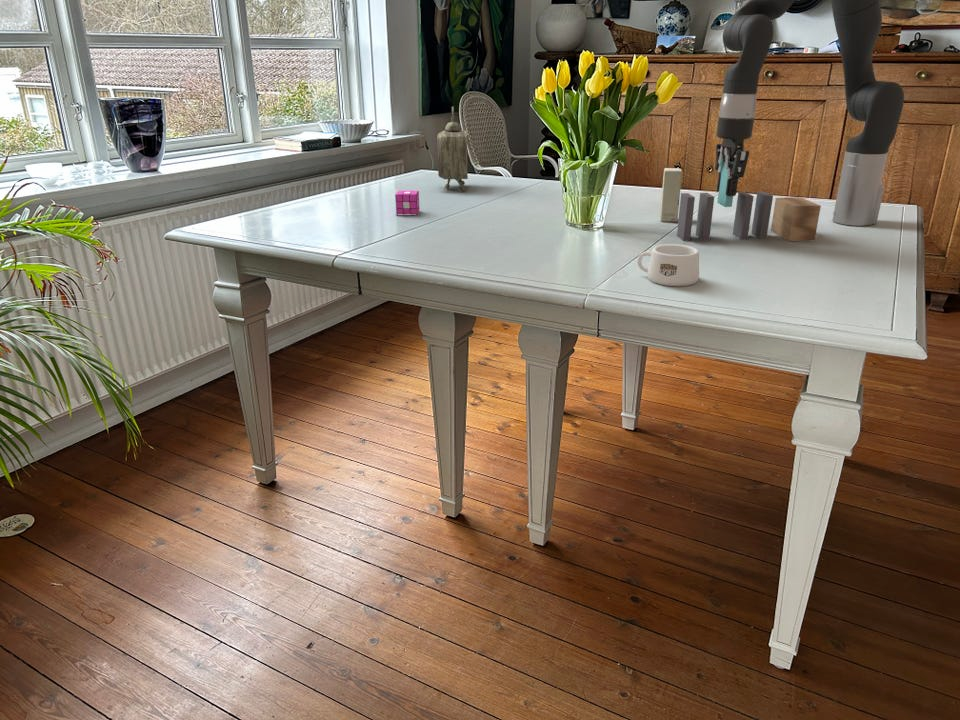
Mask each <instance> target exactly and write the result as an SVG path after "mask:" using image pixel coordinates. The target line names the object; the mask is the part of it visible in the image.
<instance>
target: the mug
mask: <svg viewBox="0 0 960 720" xmlns="http://www.w3.org/2000/svg"><path fill="white" fill-rule="evenodd" d="M646 256H649V258H650V259H649V264H648V266H647V267H648V268H646V266H644V265H643V263H642V260H643V259H644V257H646ZM637 266H638V267H639V269H640V270H641V271H643V272H645V273H647V275H646V277H647V278H648V279H649V280H650V281H651V282H652V283H654V284H658V285H661V286H667V287H668V286H669V287H687V286H693V285H694V284H696V283H697V282H698V281H699V279H700V278H699V277H700V251H699V250H698V249H697V248H695V247H694V246H690V245H686V244H685V245H684V244H677V243H676V244H674V243H673V244H671V243H670V244H669V243H668V244H659V245H656V246H654V247H652V249H651V251H643V252H642V253H640V254H639V255H638V257H637Z"/></svg>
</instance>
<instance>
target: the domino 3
mask: <svg viewBox="0 0 960 720" xmlns="http://www.w3.org/2000/svg"><path fill="white" fill-rule="evenodd" d="M723 161H724V160H723ZM730 164H734V162H730ZM736 172H737V169H736ZM727 179H728V169H726V162H723V167H722V170H721V179H720V186H719V191H718V195H717V202H716V203H717V204H719V205H720V206H722V207H724V208H732V207H733V201H734V196H727V195H726V186H727Z"/></svg>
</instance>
